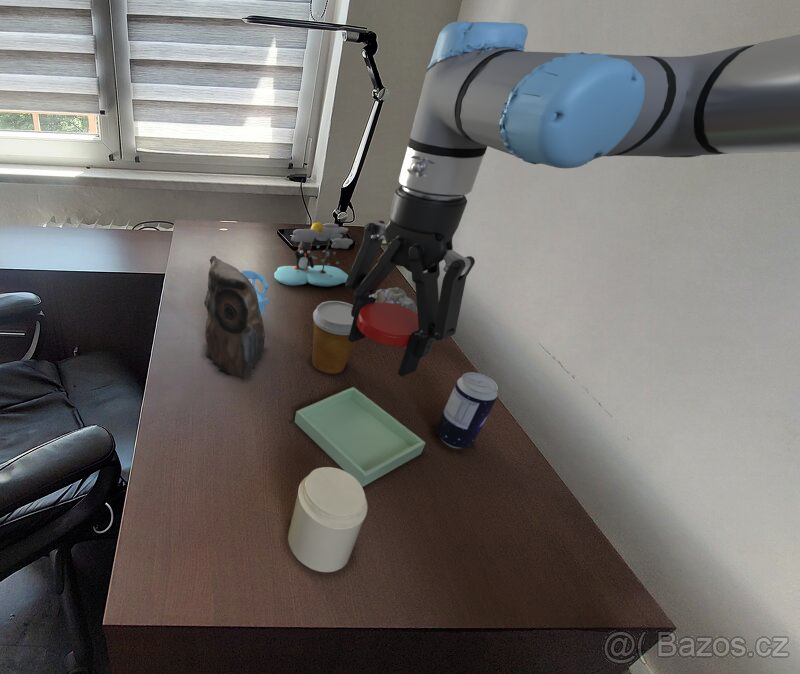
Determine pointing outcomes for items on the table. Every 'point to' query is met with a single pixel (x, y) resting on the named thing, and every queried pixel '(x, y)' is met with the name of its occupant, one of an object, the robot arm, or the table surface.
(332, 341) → the disposable coffee cup
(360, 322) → the jar lid
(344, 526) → the jar
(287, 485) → the table surface
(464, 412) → the beverage can
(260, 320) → the owl
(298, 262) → the penguin figurine
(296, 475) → the table surface
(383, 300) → the mineral rock
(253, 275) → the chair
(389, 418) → the tray
